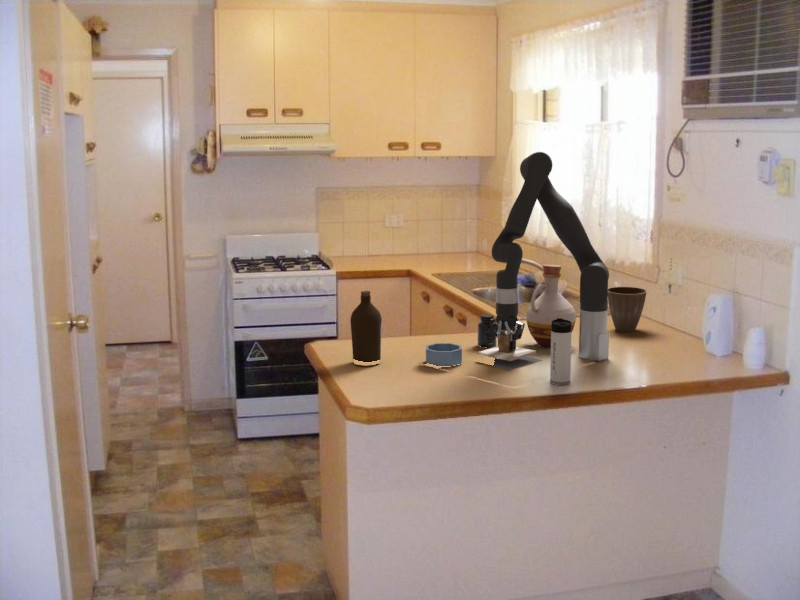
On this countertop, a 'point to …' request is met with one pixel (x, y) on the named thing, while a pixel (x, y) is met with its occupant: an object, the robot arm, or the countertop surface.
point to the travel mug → (560, 351)
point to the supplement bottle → (486, 332)
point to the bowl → (444, 354)
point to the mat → (514, 363)
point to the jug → (548, 307)
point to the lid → (506, 350)
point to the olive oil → (366, 330)
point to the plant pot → (626, 307)
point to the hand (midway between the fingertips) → (506, 350)
